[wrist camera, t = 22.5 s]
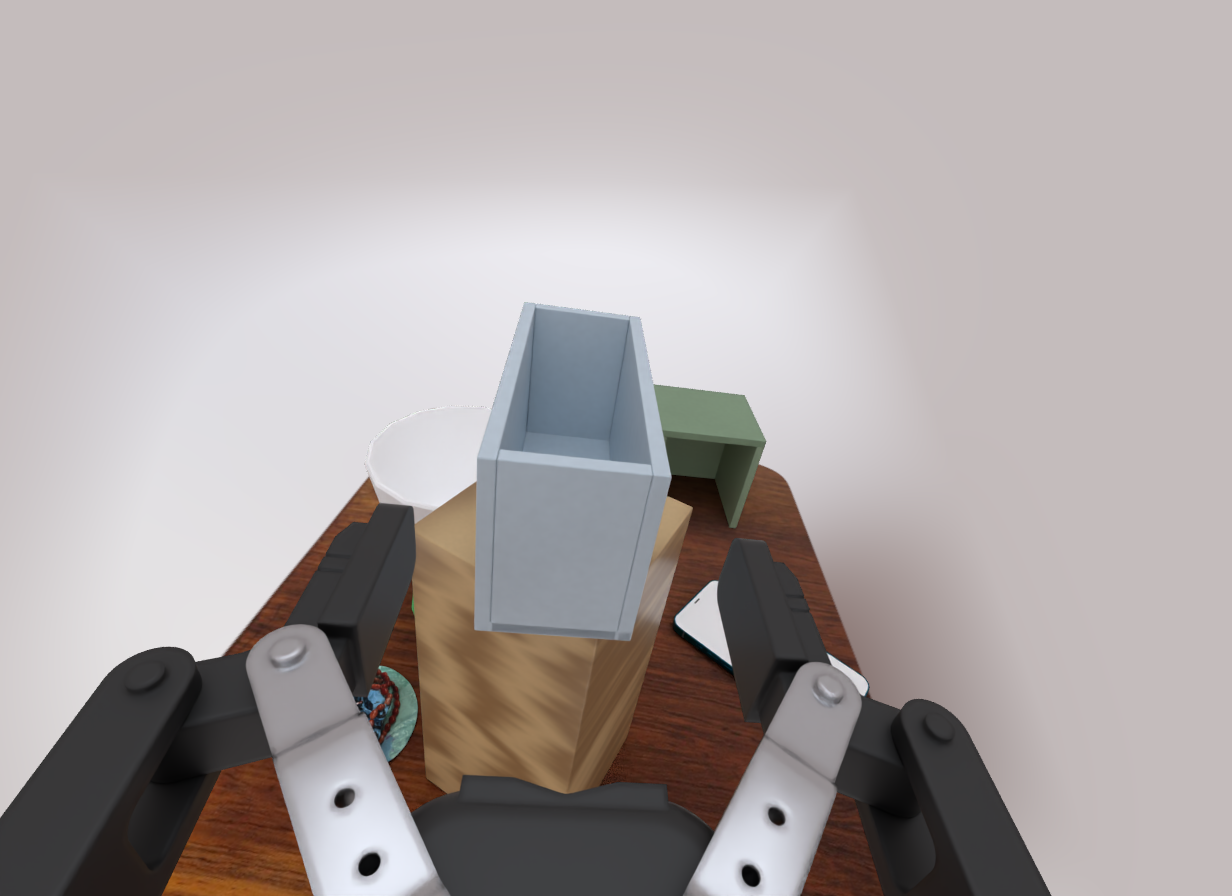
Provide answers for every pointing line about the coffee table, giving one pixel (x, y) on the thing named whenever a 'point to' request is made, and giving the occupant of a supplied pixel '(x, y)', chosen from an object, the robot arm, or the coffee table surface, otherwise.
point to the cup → (427, 457)
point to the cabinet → (712, 441)
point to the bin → (569, 479)
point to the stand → (523, 668)
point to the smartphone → (707, 633)
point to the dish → (390, 710)
